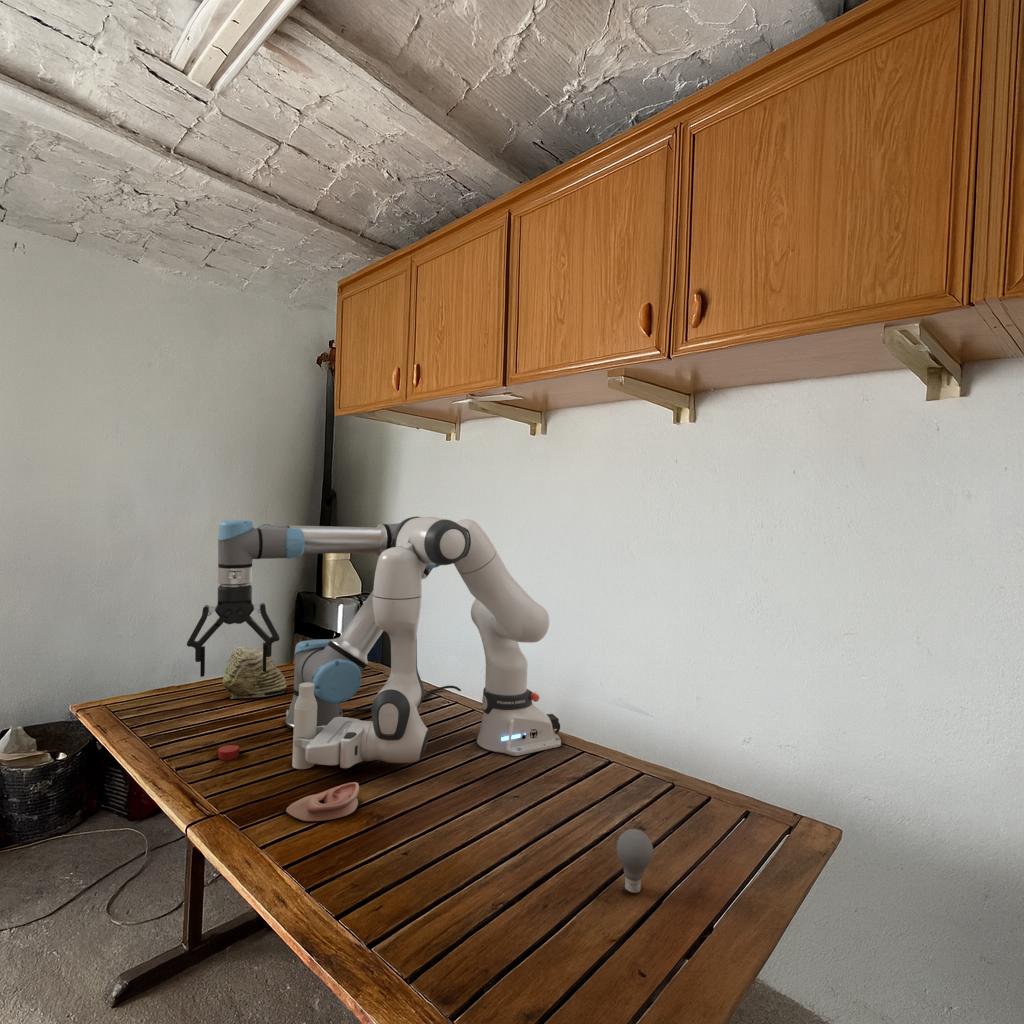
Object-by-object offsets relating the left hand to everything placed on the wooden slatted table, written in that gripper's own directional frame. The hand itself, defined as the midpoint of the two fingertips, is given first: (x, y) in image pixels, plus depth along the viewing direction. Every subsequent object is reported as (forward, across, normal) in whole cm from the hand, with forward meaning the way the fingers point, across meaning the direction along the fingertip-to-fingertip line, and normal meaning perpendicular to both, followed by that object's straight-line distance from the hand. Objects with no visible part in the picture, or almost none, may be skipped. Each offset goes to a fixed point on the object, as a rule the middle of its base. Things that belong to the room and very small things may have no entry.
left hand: (234, 672), depth 152 cm
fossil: (+20, +5, +47) cm, 52 cm away
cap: (+18, -1, 0) cm, 19 cm away
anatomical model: (+20, +18, -33) cm, 43 cm away
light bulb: (+21, +63, -77) cm, 102 cm away
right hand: (+14, +15, -10) cm, 22 cm away
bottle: (+20, +16, -10) cm, 28 cm away
